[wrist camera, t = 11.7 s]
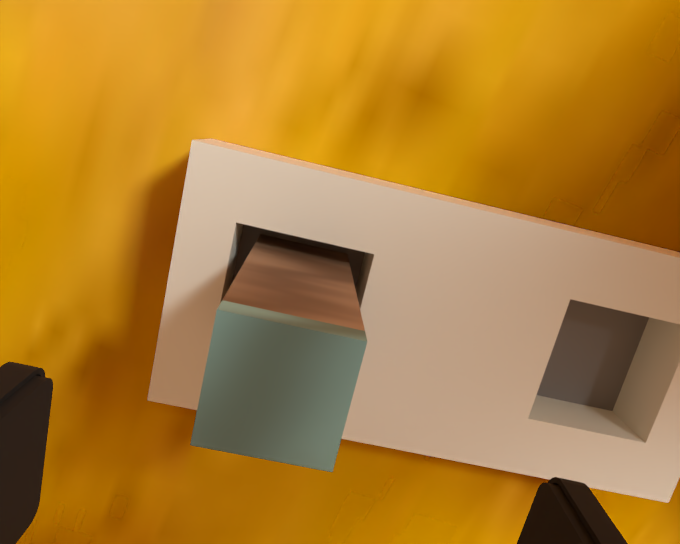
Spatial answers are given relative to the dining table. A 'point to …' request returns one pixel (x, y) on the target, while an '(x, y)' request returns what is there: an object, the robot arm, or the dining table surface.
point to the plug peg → (283, 357)
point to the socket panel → (451, 319)
